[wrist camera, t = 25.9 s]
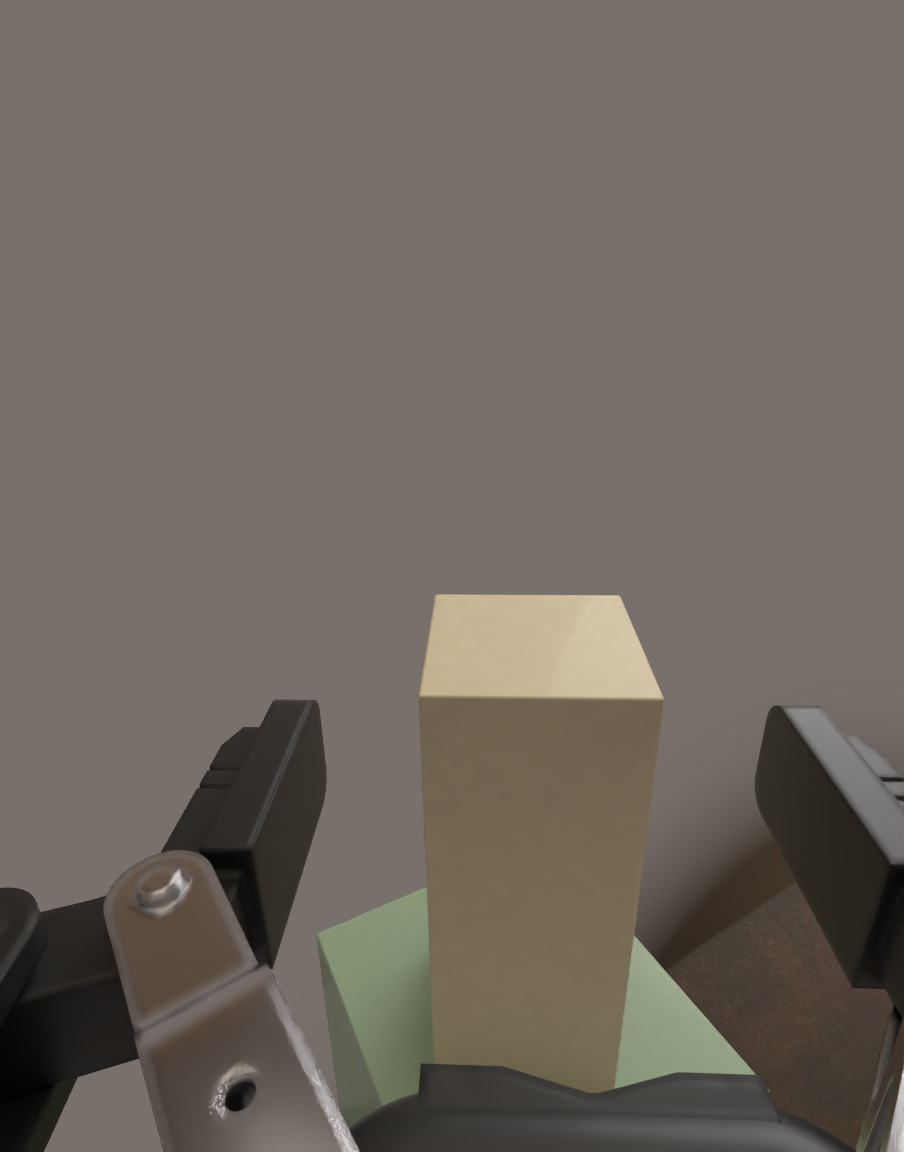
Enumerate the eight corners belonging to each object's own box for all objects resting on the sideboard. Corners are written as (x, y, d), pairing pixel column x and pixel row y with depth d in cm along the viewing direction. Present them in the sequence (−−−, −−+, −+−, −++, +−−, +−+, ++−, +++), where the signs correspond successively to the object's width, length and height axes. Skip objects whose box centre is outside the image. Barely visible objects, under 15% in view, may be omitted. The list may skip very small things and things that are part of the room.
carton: (434, 1088, 18) (418, 695, 13) (444, 932, 22) (435, 593, 17) (614, 1096, 17) (664, 699, 13) (589, 937, 22) (620, 594, 17)
